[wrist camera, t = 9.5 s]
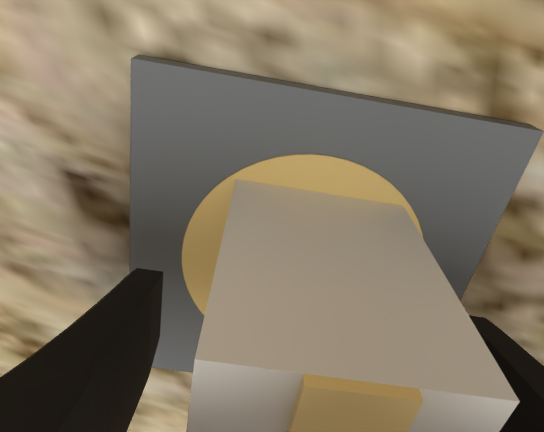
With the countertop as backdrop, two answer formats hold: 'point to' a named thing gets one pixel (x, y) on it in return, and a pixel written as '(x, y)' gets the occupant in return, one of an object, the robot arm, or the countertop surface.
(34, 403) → the robot arm
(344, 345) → the block
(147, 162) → the mat
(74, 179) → the countertop surface
